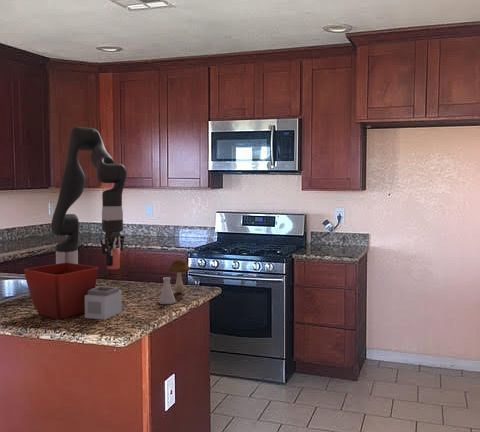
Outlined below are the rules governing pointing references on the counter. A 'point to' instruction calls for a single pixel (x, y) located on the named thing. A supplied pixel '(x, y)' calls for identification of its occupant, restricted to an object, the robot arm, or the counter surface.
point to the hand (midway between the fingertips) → (113, 264)
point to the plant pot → (60, 288)
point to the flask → (166, 293)
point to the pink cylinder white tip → (115, 259)
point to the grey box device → (103, 302)
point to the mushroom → (179, 273)
